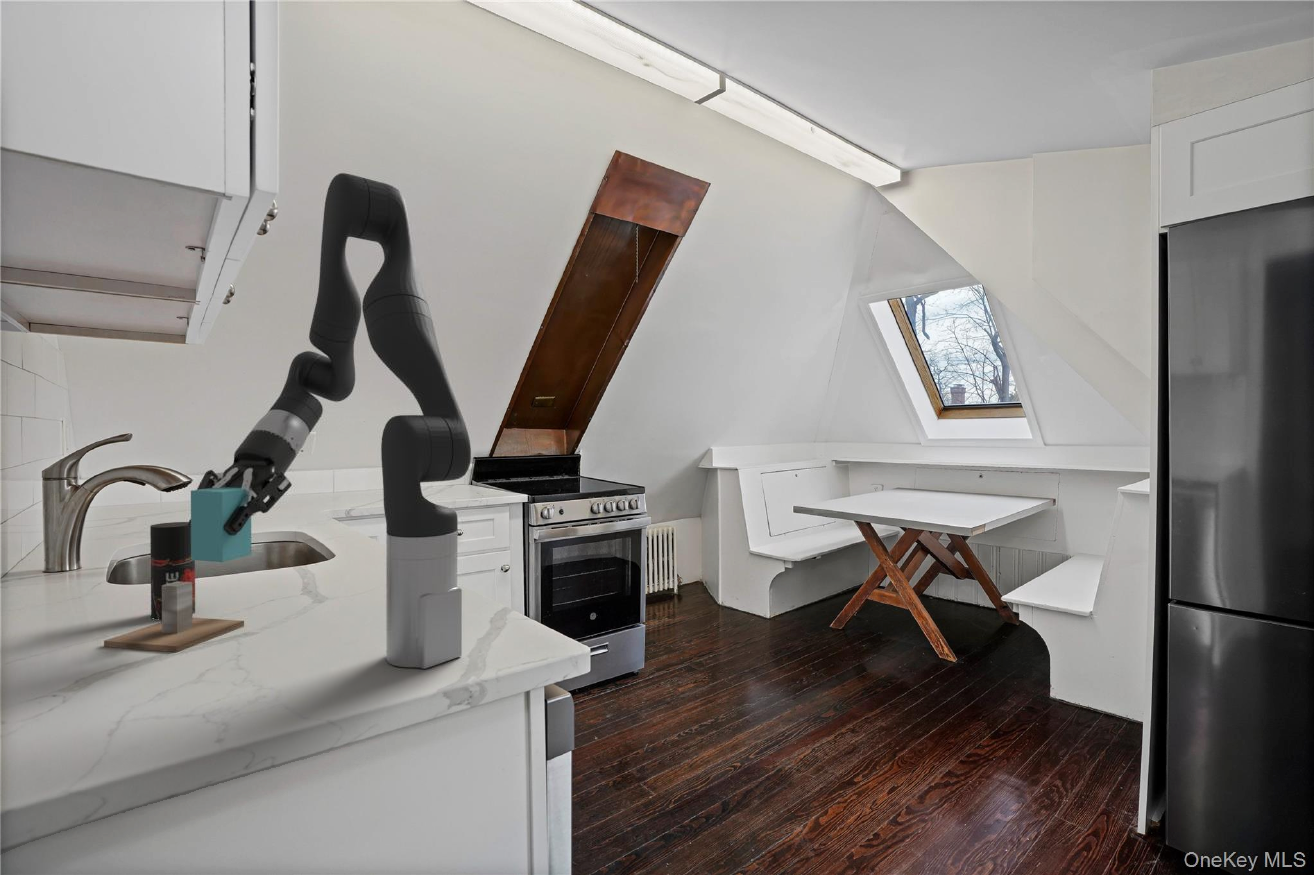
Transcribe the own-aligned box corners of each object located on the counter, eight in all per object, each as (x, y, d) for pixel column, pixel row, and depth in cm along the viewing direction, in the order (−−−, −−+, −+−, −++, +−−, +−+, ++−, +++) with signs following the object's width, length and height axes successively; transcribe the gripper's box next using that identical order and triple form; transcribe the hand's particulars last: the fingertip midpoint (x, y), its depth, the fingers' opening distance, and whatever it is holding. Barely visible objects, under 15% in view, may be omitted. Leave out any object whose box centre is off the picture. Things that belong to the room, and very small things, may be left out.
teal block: (251, 554, 99) (251, 488, 98) (222, 562, 93) (222, 491, 93) (221, 552, 100) (220, 486, 99) (191, 560, 94) (190, 490, 94)
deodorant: (158, 622, 105) (157, 528, 105) (145, 615, 109) (145, 524, 109) (200, 613, 110) (200, 524, 110) (187, 607, 114) (187, 520, 113)
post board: (244, 625, 104) (243, 576, 103) (176, 651, 92) (176, 596, 92) (178, 621, 106) (177, 573, 105) (103, 646, 94) (103, 591, 94)
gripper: (220, 427, 104) (150, 513, 93) (301, 429, 102) (239, 518, 91) (247, 458, 110) (184, 543, 98) (324, 461, 107) (268, 548, 96)
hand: (211, 530), depth 95 cm, fingers closed on teal block, 5 cm apart
